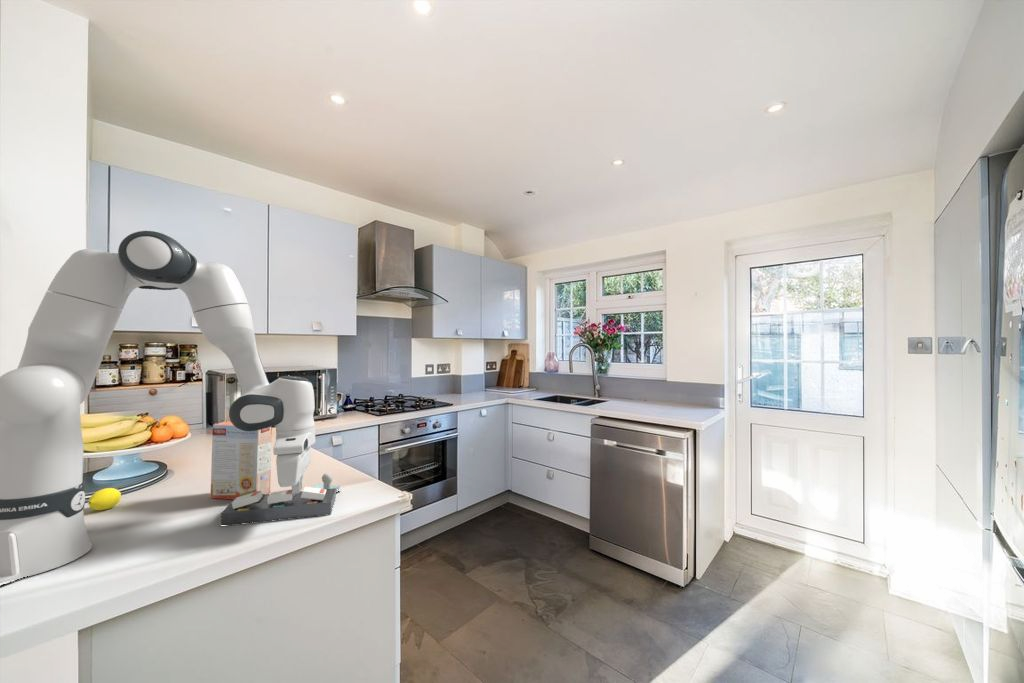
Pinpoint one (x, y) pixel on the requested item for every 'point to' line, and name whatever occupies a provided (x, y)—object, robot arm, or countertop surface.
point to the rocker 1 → (247, 499)
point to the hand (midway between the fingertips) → (297, 491)
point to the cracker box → (240, 461)
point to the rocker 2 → (280, 496)
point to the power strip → (278, 509)
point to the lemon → (104, 499)
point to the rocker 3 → (313, 493)
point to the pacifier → (327, 483)
